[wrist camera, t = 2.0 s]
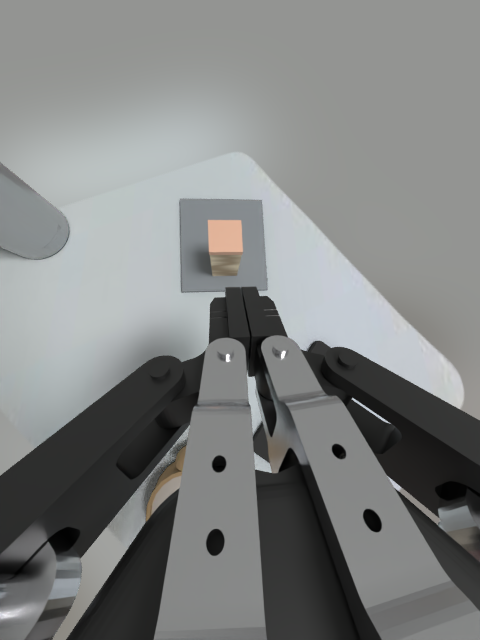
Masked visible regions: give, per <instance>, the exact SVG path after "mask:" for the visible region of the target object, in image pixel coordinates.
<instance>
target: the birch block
mask: <svg viewBox="0 0 480 640" xmlns="http://www.w3.org/2000/svg"><path fill="white" fill-rule="evenodd" d="M208 240H209V255H210V260H211V268H212V275H213V276H237V273H238V269H239V265H240V260H241V256H242V254H243V243H242V224H241V220H208Z"/></svg>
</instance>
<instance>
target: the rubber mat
mask: <svg viewBox="0 0 480 640" xmlns="http://www.w3.org/2000/svg"><path fill="white" fill-rule="evenodd" d="M208 220H241V224H242V243H243V254H242V256H241V260H240V265H239V269H238V273H237V276H213V275H212V268H211V260H210V255H209V240H208ZM180 225H181V277H182V292H217V291H225V287H240V288H241V287H251V286H256V287H257V290H268V288H267V272H266V257H265V241H264V225H263V210H262V200H234V199H180Z"/></svg>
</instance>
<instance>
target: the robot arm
mask: <svg viewBox="0 0 480 640" xmlns="http://www.w3.org/2000/svg"><path fill="white" fill-rule="evenodd" d="M68 235H69V226H68V222H67V220H66V218H65V216H64V215H63V214H62V212H60V211H59V210H58V209H57V208H55V207H54V206H53V205H52V204H51V203H49V202H48V201H47V200H46V199H44V198H43V197H42V196H41V195H40V194H38V193H37V192H36V191H35V190H34V189H32V188H31V187H30V186H29V185H27V184H26V183H25V182H24V181H23V180H21V179H20V178H19V177H18V176H16V175H15V174H14V173H13V172H11V171H10V170H9V169H8V168H7V167H5V166H4V165H3V164H2V163H0V247H1V248H3V249H6V250H8V251H10V252H13V253H15V254H17V255H20V256H22V257H25V258H29V259H43V258H46V257H50V256H52V255H53V254H55V253H57V252H58V251H59V250H60V249H61V248H62V247H63V246H64V245H65V243H66V241H67V239H68ZM247 370H248V376H249V377H252V376H255V380H256V390H255V393H256V397H257V401H258V405H259V409H260V413H261V417H262V421H263V425H264V429H265V433H266V437H267V442H268V454H269V461H270V466H271V470H272V473H269V472H264V471H259V470H255V464H254V449H253V433H252V418H251V408H250V404H249V401H248V385H247ZM352 397H353V398H354V399H356V400H357V401H359V402H360V403H362V404H363V405H365V406H366V407H368V408H369V409H370V410H372V411H373V412H375V413H376V414H378V415H379V416H381V417H382V418H384V419H385V420H387V421H388V422H390V423H391V424H389V423H386V422H384V421H382V420H381V419H379V418H378V417H376V416H375V415H373V414H372V413H370V412H369V411H367V410H366V409H365V408H363V407H362V406H360V405H359V404H357V403H356V402H354V401H353V400H352ZM189 425H190V428H189V434H188V440H187V446H186V452H185V458H184V464H183V470H182V476H181V483H180V488H179V489H177V490H176V491H175V492H174V493H172V494H171V495H170V496H169V497H168V498H167V499H166V500H164V501H163V502H162V503H161V504H160V505H159V507H158V508H157V509H156V510H155V511H154V513H153V514H152V515H151V516H150V518H149V519H148V520H147V522H146V523H145V524H144V526H143V527H142V529H141V530H140V532H139V533H138V535H137V536H136V538H135V539H134V541H133V542H132V544H131V545H130V547H129V548H128V549H127V551H126V553H125V554H124V555H123V557H122V558H121V560H120V561H119V563H118V564H117V566H116V567H115V569H114V570H113V572H112V573H111V575H110V576H109V578H108V579H107V581H106V582H105V583H104V585H103V586H102V588H101V589H100V591H99V592H98V594H97V595H96V597H95V598H94V600H93V601H92V603H91V604H90V605H89V607H88V609H87V610H86V611H85V613H84V614H83V616H82V617H81V619H80V620H79V622H78V623H77V625H76V626H75V627H74V629H73V631H72V632H71V633H70V635H69V637H68V638H67V639H66V640H480V420H478V419H476V418H474V417H472V416H470V415H469V414H467V413H465V412H463V411H461V410H460V409H458V408H456V407H454V406H452V405H451V404H449V403H447V402H445V401H443V400H442V399H440V398H438V397H436V396H434V395H433V394H431V393H429V392H427V391H425V390H424V389H422V388H420V387H418V386H416V385H414V384H413V383H411V382H409V381H407V380H405V379H404V378H402V377H400V376H398V375H396V374H395V373H393V372H391V371H389V370H387V369H386V368H384V367H382V366H380V365H378V364H377V363H375V362H373V361H371V360H369V359H367V358H366V357H364V356H362V355H360V354H358V353H357V352H355V351H353V350H350V349H348V348H344V347H334V348H331V349H329V350H328V351H327V352H326V354H325V355H320V354H315V353H310V352H306V351H303V350H301V349H300V347H299V346H298V344H297V343H296V342H295V341H293V340H292V339H290V338H288V336H287V334H286V331H285V329H284V326H283V324H282V321H281V319H280V316H279V314H278V311H277V310H276V306H275V304H274V302H273V301H272V300H271V299H270V298H269V297H268V296H259V293H258V290H257V287H256V286H251V287H241V288H240V287H225V297H222V298H214V300H213V301H212V302H211V304H210V329H209V345H208V346H207V348H206V350H205V351H204V352H203V353H202V354H201V355H199V356H198V357H196V358H193V359H190V360H187V361H184V362H181V361H180V360H179V359H177V358H175V357H172V356H159V357H156V358H153V359H151V360H149V361H148V362H146V363H145V364H143V365H142V366H141V367H140V368H138V369H137V370H136V371H134V372H133V373H132V374H131V375H129V376H128V377H127V378H125V379H124V380H123V381H122V382H120V383H119V384H118V385H116V386H115V387H114V388H113V389H111V390H110V391H109V392H107V393H106V394H105V395H104V396H102V397H101V398H100V399H98V400H97V401H96V402H95V403H93V404H92V405H91V406H89V407H88V408H87V409H86V410H84V411H83V412H82V413H80V414H79V415H78V416H77V417H75V418H74V419H73V420H71V421H70V422H69V423H68V424H66V425H65V426H64V427H62V428H61V429H60V430H59V431H57V432H56V433H55V434H53V435H52V436H51V437H49V438H48V439H47V440H46V441H44V442H43V443H42V444H40V445H39V446H38V447H37V448H35V449H34V450H33V451H31V452H30V453H29V454H28V455H26V456H25V457H24V458H22V459H21V460H20V461H19V462H17V463H16V464H15V465H14V466H12V467H11V468H10V469H8V470H7V471H6V472H4V473H3V474H2V475H1V476H0V640H52V639H53V637H54V635H55V634H56V632H57V630H58V629H59V627H60V626H61V624H62V622H63V621H64V619H65V618H66V616H67V614H68V613H69V611H70V609H71V607H72V605H73V602H74V600H75V598H76V595H77V592H78V589H79V585H80V581H81V573H82V566H81V560H80V559H81V557H82V556H83V555H84V554H85V552H86V551H87V550H88V549H89V547H90V546H91V545H92V544H93V543H94V541H95V540H96V539H97V538H98V537H99V535H100V534H101V533H102V531H103V530H104V529H105V528H106V527H107V525H108V524H109V523H110V522H111V521H112V519H113V518H114V517H115V516H116V514H117V513H118V512H119V511H120V510H121V508H122V507H123V506H124V505H125V503H126V502H127V501H128V500H129V499H130V497H131V496H132V495H133V494H134V492H135V491H136V490H137V489H138V488H139V486H140V485H141V484H142V483H143V481H144V480H145V479H146V478H147V476H148V475H149V474H150V473H151V472H152V470H153V469H154V468H155V467H156V465H157V464H158V463H159V462H160V461H161V459H162V458H163V457H164V456H165V454H166V453H167V452H168V451H169V450H170V448H171V447H172V446H173V445H174V443H175V442H176V441H177V440H178V439H179V437H180V436H181V435H182V434H183V432H184V431H185V430H186V429H187V428H188V426H189ZM387 476H388V477H390V478H391V479H392V480H393V481H395V482H396V483H397V484H398V485H399V486H401V487H402V488H403V489H404V490H406V491H407V492H408V493H410V494H411V495H412V496H413V497H414V498H415V499H417V500H418V501H419V502H420V503H421V504H423V505H424V506H425V507H426V508H428V509H429V510H430V511H431V512H432V513H434V514H435V515H436V516H438V517H439V518H440V522H439V523H438V525H437V524H436V523H434V522H433V521H432V520H431V519H430V518H429V517H428V516H426V515H425V514H424V513H423V512H422V511H421V510H419V509H418V508H417V507H416V506H415V505H414V504H413V503H411V502H410V501H409V500H408V499H407V498H406V497H405V496H404V495H402V494H401V493H400V492H399V491H398V490H396V489H395V488H394V487H393V485H392V483H391V482H390V480H389V478H388V477H387Z"/></svg>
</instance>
